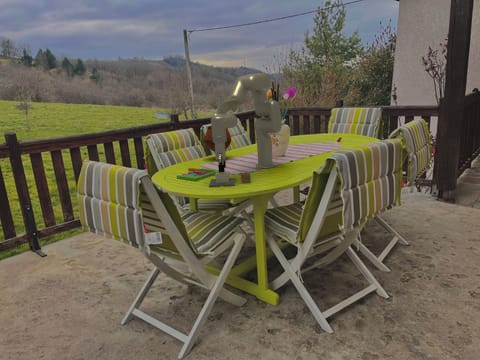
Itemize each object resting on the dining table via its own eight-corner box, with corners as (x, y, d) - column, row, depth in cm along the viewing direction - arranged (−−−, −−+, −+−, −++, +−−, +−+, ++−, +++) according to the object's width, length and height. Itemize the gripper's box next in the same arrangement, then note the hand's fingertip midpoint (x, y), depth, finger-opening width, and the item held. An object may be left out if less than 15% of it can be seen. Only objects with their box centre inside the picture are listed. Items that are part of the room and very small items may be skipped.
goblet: (202, 160, 278) (199, 126, 271) (224, 156, 288) (221, 124, 282) (214, 163, 262) (211, 128, 256) (237, 159, 272) (235, 125, 266)
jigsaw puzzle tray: (221, 173, 232) (193, 170, 247) (221, 170, 231) (193, 167, 247) (195, 182, 215) (167, 178, 230) (195, 178, 214) (166, 174, 230)
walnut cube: (241, 181, 209) (241, 172, 207) (250, 181, 208) (250, 172, 207) (241, 183, 204) (240, 174, 202) (250, 183, 203) (250, 174, 202)
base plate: (211, 180, 214) (211, 179, 213) (235, 179, 213) (235, 177, 213) (208, 187, 200) (208, 185, 200) (234, 185, 199) (234, 184, 199)
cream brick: (216, 180, 209) (216, 172, 208) (229, 180, 209) (228, 171, 207) (216, 182, 204) (215, 174, 203) (228, 182, 204) (228, 173, 203)
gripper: (214, 137, 209) (217, 166, 214) (211, 142, 193) (214, 174, 197) (227, 136, 209) (230, 165, 213) (225, 141, 192) (228, 173, 197)
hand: (222, 169), depth 205 cm, fingers open, 9 cm apart
